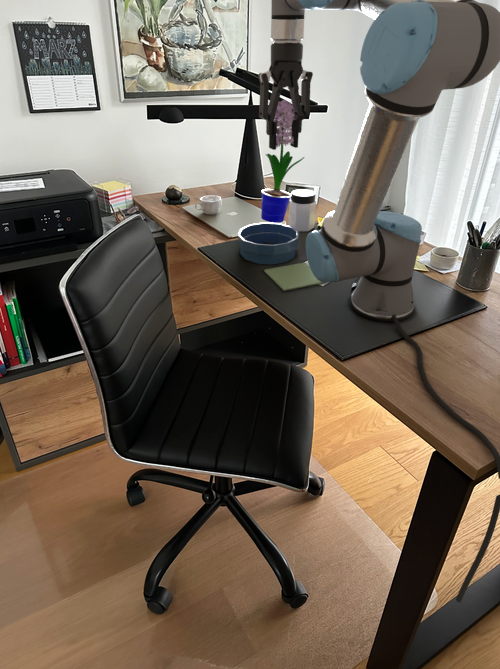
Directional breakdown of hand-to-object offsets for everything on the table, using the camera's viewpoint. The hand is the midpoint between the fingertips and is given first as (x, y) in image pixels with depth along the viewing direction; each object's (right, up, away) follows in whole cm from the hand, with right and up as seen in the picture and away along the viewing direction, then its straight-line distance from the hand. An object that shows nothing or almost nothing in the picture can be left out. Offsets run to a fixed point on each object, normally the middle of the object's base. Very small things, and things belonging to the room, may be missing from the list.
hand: (283, 147), depth 122 cm
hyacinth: (-2, -17, +10) cm, 19 cm away
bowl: (-3, -23, +24) cm, 33 cm away
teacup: (-24, -3, +54) cm, 59 cm away
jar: (+9, -11, +42) cm, 44 cm away
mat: (+4, -32, +10) cm, 34 cm away
